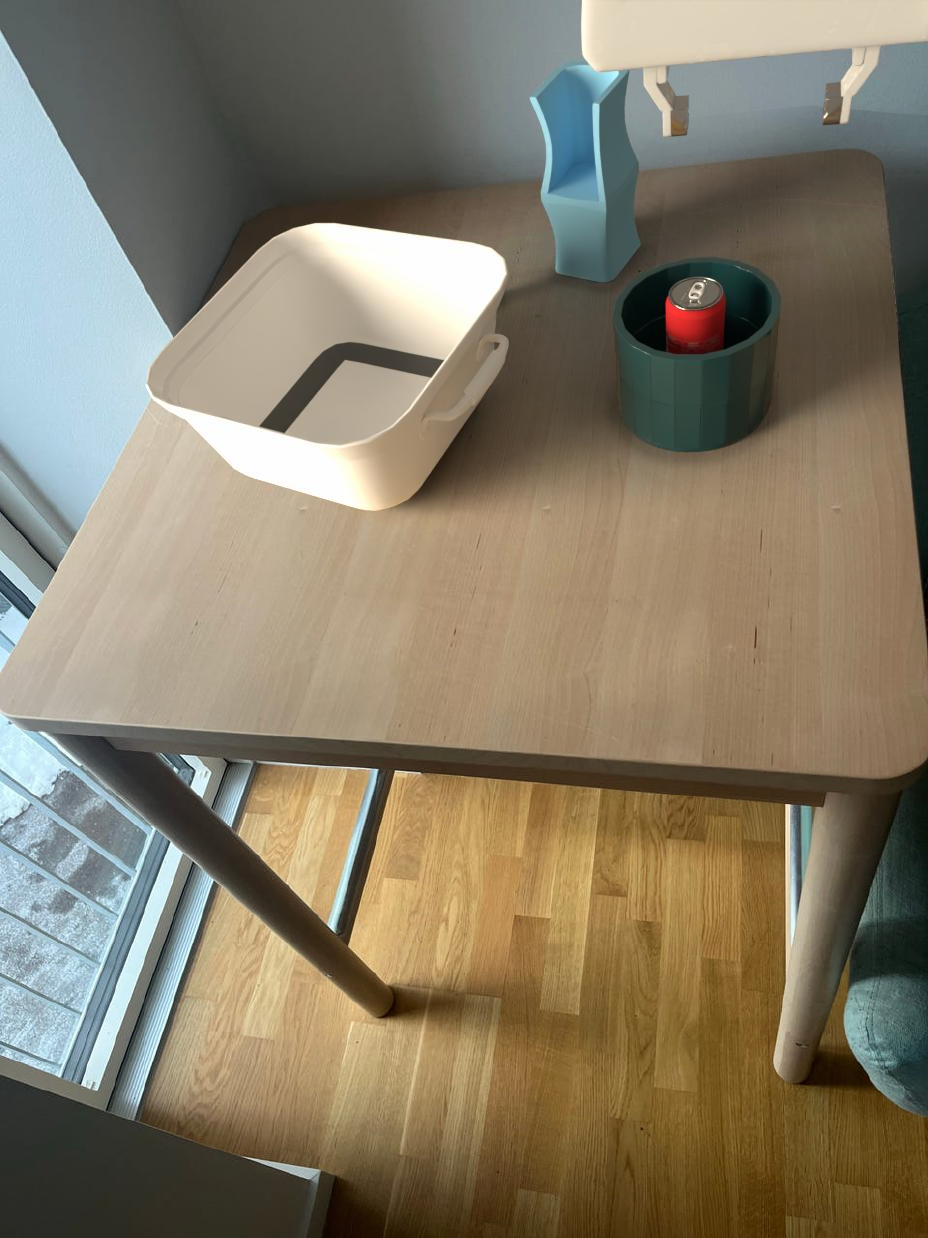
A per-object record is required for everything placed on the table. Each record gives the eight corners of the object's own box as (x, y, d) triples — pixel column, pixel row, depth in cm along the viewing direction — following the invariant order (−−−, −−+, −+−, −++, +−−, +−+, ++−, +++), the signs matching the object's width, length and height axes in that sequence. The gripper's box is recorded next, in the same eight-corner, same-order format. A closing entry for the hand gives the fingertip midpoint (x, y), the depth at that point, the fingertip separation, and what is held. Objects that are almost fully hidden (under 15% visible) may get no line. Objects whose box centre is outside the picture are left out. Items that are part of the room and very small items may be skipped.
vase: (550, 272, 107) (528, 97, 91) (581, 233, 110) (565, 58, 94) (611, 284, 103) (599, 104, 87) (641, 244, 107) (635, 63, 91)
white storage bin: (571, 378, 95) (557, 253, 84) (442, 582, 83) (404, 468, 71) (312, 326, 109) (269, 213, 98) (168, 494, 97) (98, 387, 85)
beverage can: (660, 411, 89) (658, 308, 80) (674, 376, 92) (674, 272, 82) (713, 418, 88) (718, 313, 78) (726, 382, 90) (732, 276, 80)
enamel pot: (773, 350, 92) (783, 253, 83) (767, 454, 84) (778, 359, 76) (628, 351, 96) (623, 259, 87) (610, 450, 88) (603, 360, 80)
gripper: (557, -98, 46) (579, 164, 58) (1005, -165, 41) (935, 141, 52) (575, -143, 50) (593, 113, 61) (991, -210, 44) (928, 85, 55)
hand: (753, 126), depth 56 cm, fingers open, 8 cm apart
